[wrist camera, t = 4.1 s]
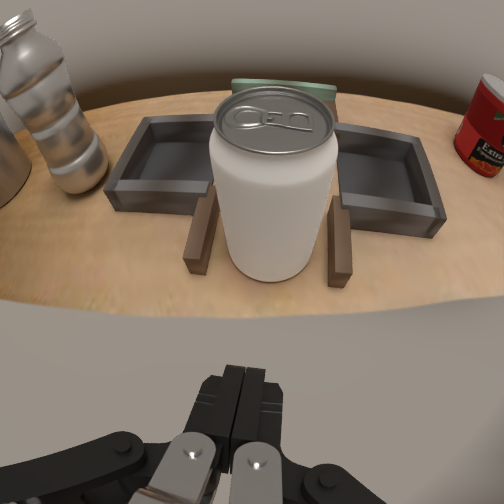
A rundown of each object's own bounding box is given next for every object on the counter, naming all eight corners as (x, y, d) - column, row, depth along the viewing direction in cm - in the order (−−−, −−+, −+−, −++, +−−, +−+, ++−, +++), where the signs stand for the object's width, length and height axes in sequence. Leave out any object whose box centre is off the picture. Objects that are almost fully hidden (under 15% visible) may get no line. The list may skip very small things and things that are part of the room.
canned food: (466, 173, 27) (506, 103, 17) (444, 131, 31) (471, 65, 21) (505, 183, 26) (544, 123, 17) (482, 142, 30) (511, 84, 21)
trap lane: (96, 261, 23) (73, 237, 19) (167, 108, 33) (160, 82, 30) (441, 294, 20) (467, 272, 17) (398, 125, 31) (407, 100, 27)
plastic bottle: (119, 151, 30) (59, -8, 12) (108, 196, 26) (20, 13, 9) (72, 163, 29) (4, 24, 12) (58, 208, 26) (-38, 55, 9)
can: (235, 208, 25) (220, 80, 14) (313, 216, 24) (339, 89, 14) (221, 279, 22) (186, 155, 11) (309, 289, 21) (350, 170, 11)
